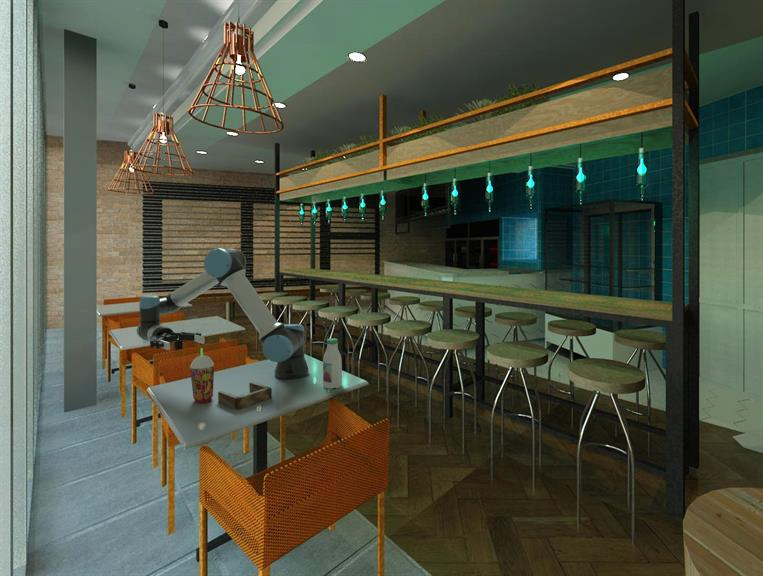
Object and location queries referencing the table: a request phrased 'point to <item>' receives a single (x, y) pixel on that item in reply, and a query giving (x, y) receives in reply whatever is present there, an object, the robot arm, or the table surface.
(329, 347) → the milk bottle
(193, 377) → the smoothie
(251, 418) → the table surface
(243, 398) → the holder
